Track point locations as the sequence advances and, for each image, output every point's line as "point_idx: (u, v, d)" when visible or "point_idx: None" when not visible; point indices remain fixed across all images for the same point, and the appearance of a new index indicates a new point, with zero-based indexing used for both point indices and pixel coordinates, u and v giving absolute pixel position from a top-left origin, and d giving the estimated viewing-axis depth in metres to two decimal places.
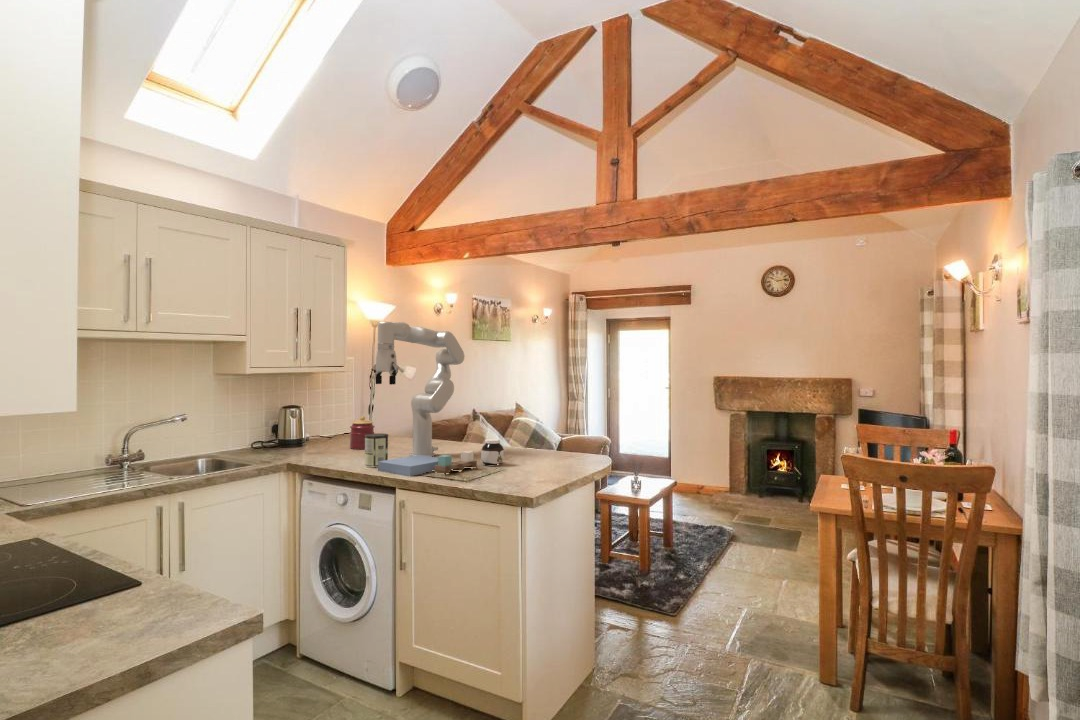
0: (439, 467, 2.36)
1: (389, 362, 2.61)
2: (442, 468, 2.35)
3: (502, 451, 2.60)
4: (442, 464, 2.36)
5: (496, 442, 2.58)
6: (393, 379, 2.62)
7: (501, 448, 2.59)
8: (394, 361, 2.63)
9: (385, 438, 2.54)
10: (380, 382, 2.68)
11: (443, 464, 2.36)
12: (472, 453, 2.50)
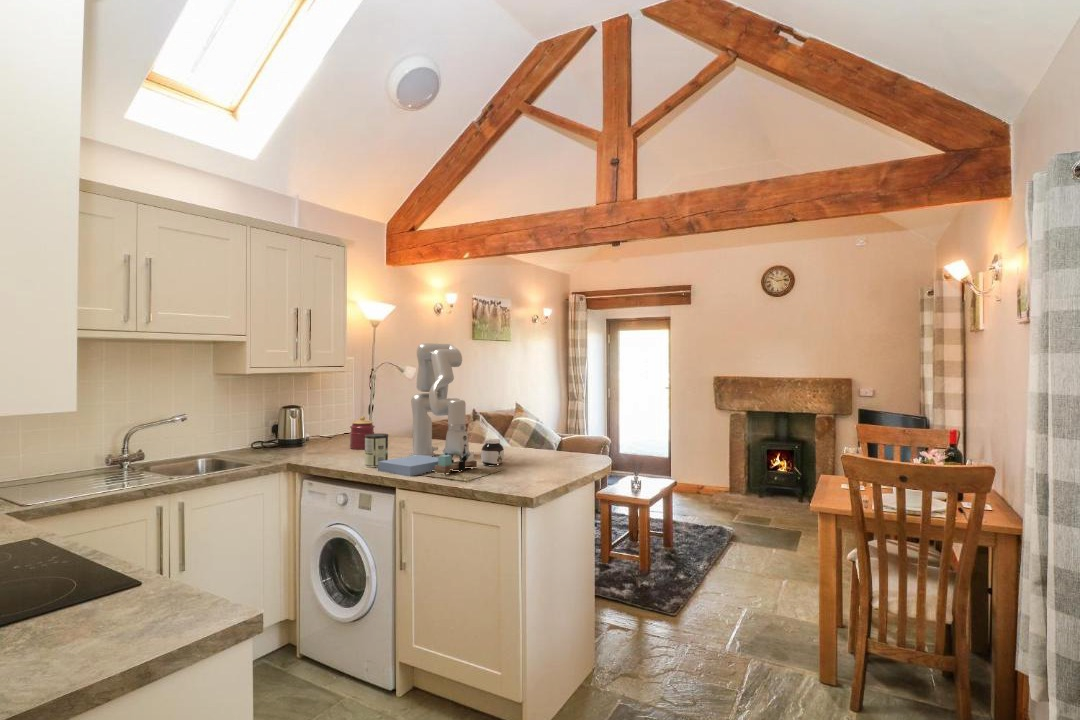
0: (439, 467, 2.36)
1: (461, 445, 2.40)
2: (442, 468, 2.35)
3: (502, 451, 2.60)
4: (442, 464, 2.36)
5: (496, 442, 2.58)
6: (463, 465, 2.41)
7: (501, 448, 2.59)
8: (466, 443, 2.42)
9: (385, 438, 2.54)
10: None
11: (443, 463, 2.36)
12: (472, 453, 2.50)
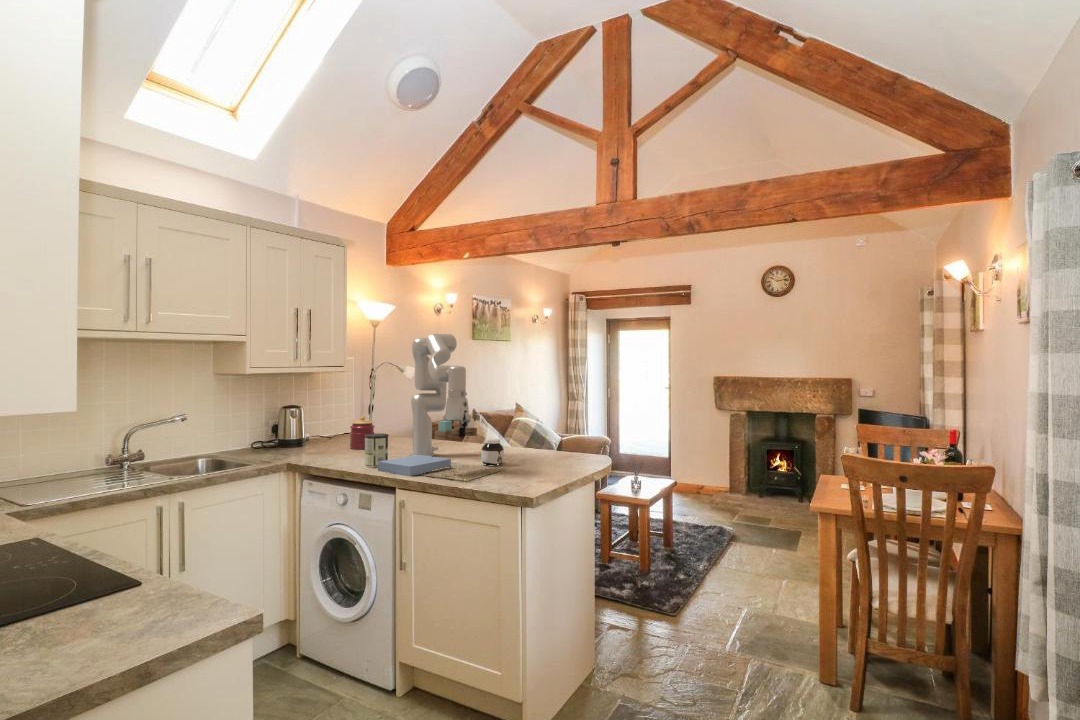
0: (439, 432, 2.36)
1: (462, 411, 2.40)
2: (442, 433, 2.35)
3: (502, 451, 2.60)
4: (442, 429, 2.37)
5: (496, 442, 2.58)
6: (463, 431, 2.42)
7: (501, 448, 2.59)
8: (466, 409, 2.42)
9: (385, 438, 2.54)
10: None
11: (444, 429, 2.36)
12: (472, 420, 2.50)
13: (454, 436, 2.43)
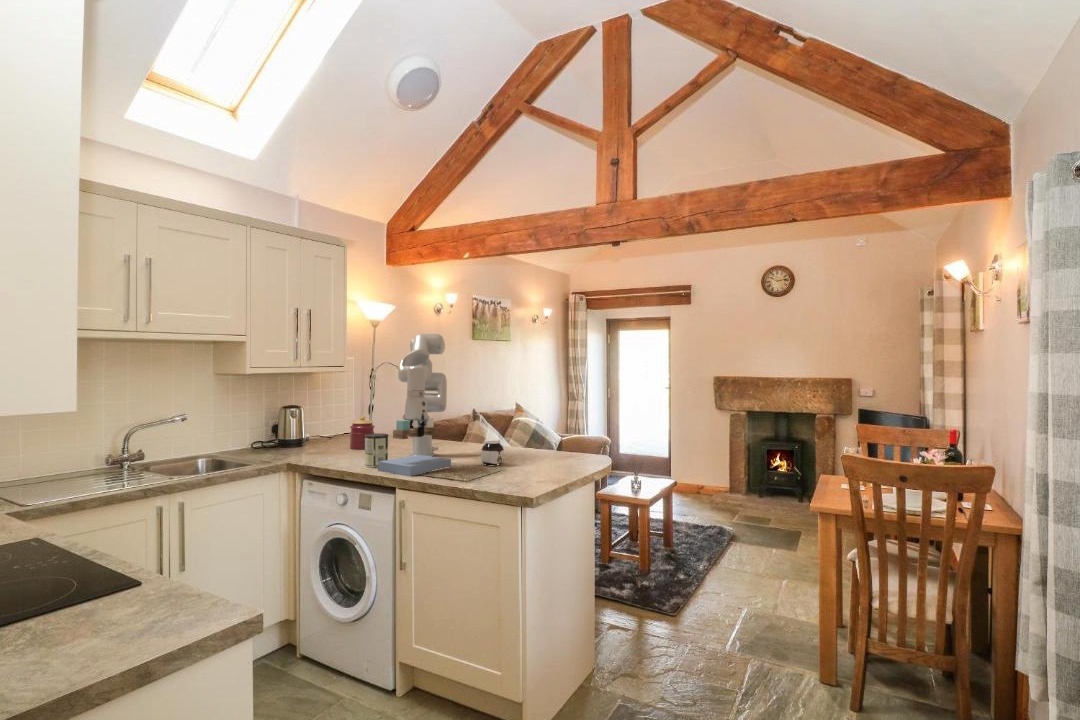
0: (397, 431, 2.39)
1: (420, 410, 2.43)
2: (400, 432, 2.38)
3: (502, 451, 2.60)
4: (400, 428, 2.39)
5: (496, 442, 2.58)
6: (422, 430, 2.45)
7: (501, 448, 2.59)
8: (425, 409, 2.45)
9: (385, 438, 2.54)
10: None
11: (401, 428, 2.39)
12: (432, 419, 2.53)
13: (413, 435, 2.46)
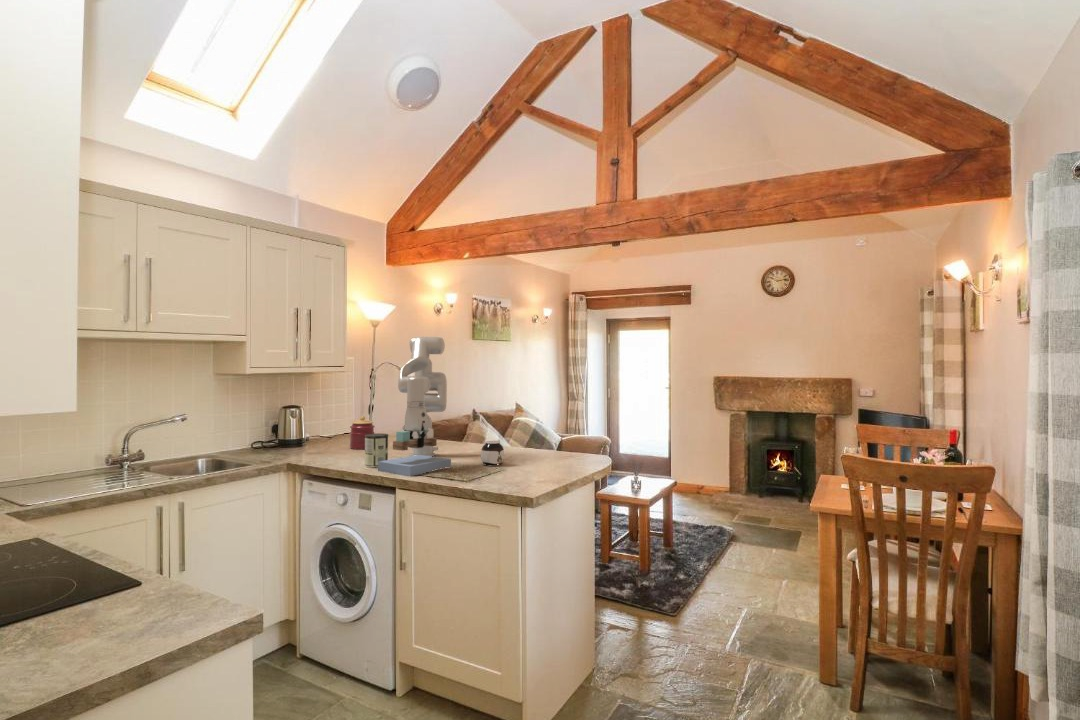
0: (397, 442, 2.39)
1: (420, 421, 2.43)
2: (400, 443, 2.38)
3: (502, 451, 2.60)
4: (400, 439, 2.39)
5: (496, 442, 2.58)
6: (421, 441, 2.44)
7: (501, 448, 2.59)
8: (425, 420, 2.45)
9: (385, 438, 2.54)
10: None
11: (401, 439, 2.39)
12: (432, 430, 2.53)
13: (413, 446, 2.46)
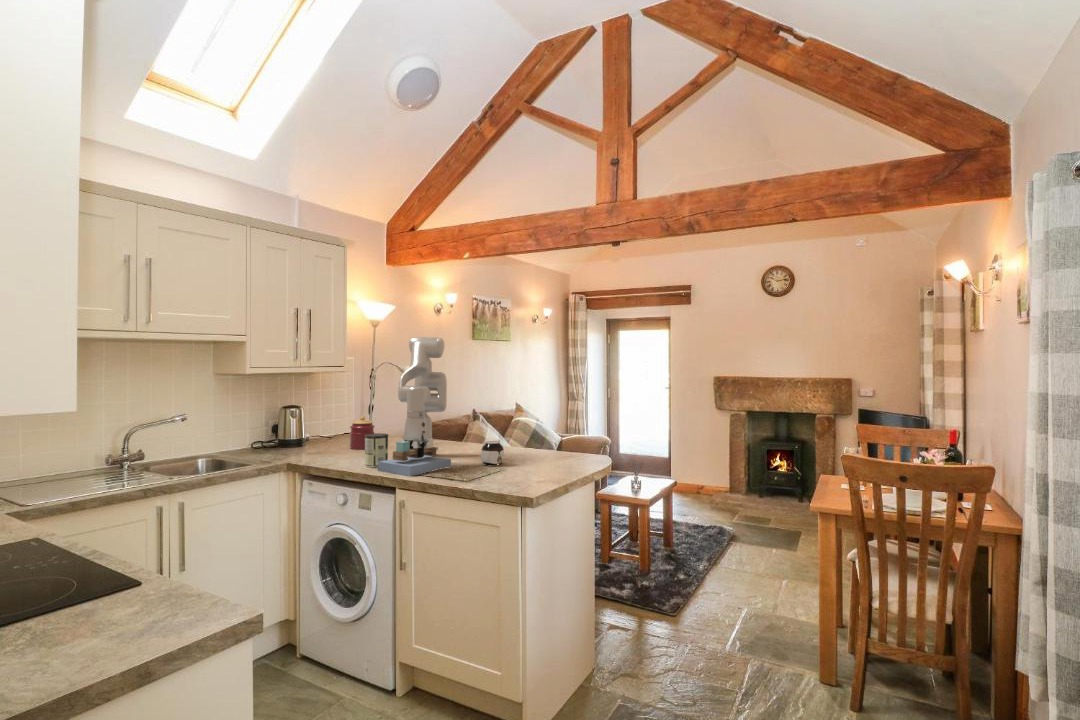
0: (397, 453, 2.39)
1: (420, 432, 2.43)
2: (400, 454, 2.38)
3: (502, 451, 2.60)
4: (400, 450, 2.39)
5: (496, 442, 2.58)
6: (421, 451, 2.45)
7: (501, 448, 2.59)
8: (425, 430, 2.45)
9: (385, 438, 2.54)
10: None
11: (401, 449, 2.39)
12: (432, 440, 2.53)
13: (413, 456, 2.46)
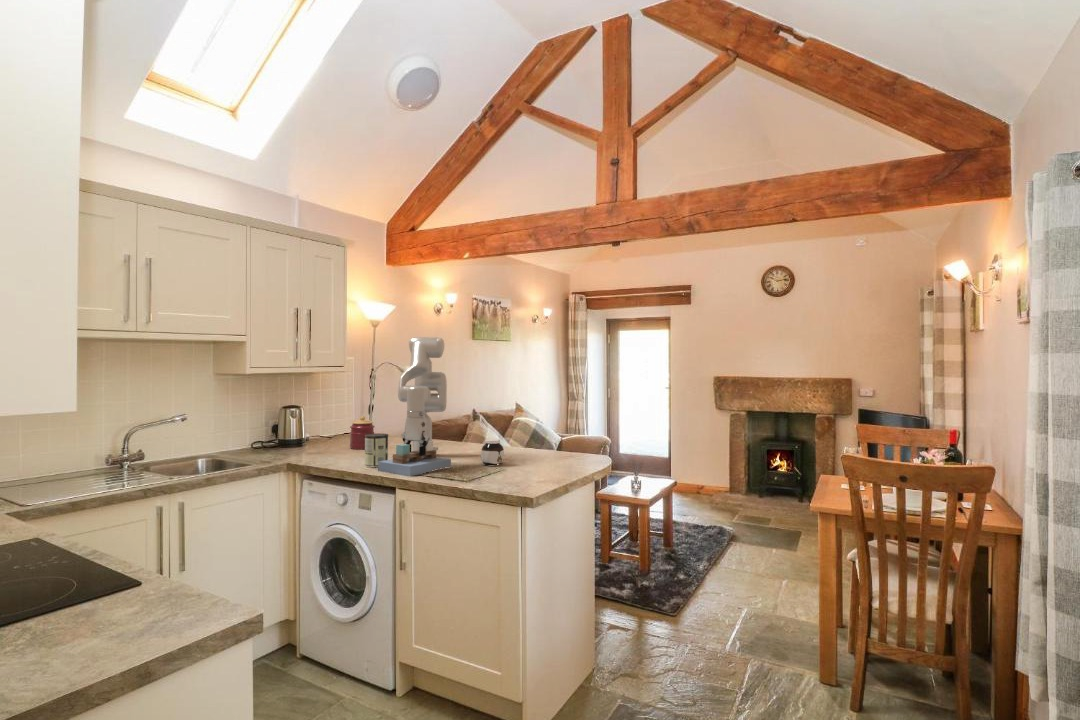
0: (397, 456, 2.39)
1: (420, 431, 2.43)
2: (399, 457, 2.38)
3: (502, 451, 2.60)
4: (400, 453, 2.39)
5: (496, 442, 2.58)
6: (423, 450, 2.44)
7: (501, 448, 2.59)
8: (425, 430, 2.45)
9: (385, 438, 2.54)
10: (410, 451, 2.50)
11: (401, 452, 2.39)
12: (432, 442, 2.53)
13: (412, 459, 2.46)
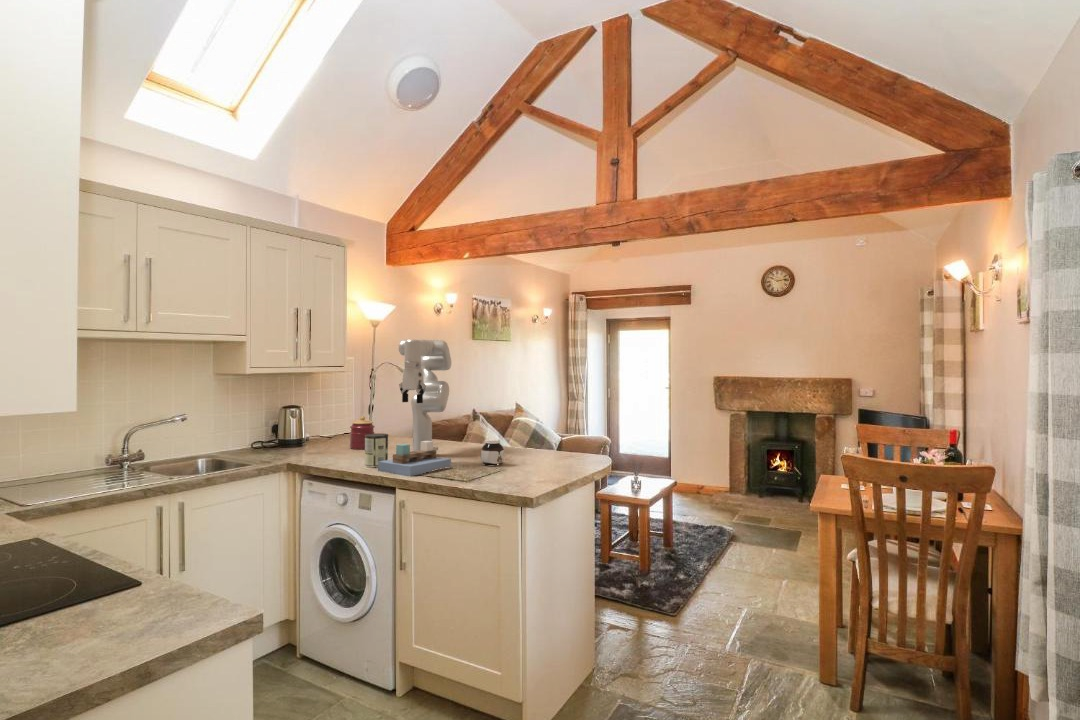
0: (397, 456, 2.39)
1: (416, 381, 2.59)
2: (399, 457, 2.38)
3: (502, 451, 2.60)
4: (400, 453, 2.39)
5: (496, 442, 2.58)
6: (420, 398, 2.59)
7: (501, 448, 2.59)
8: (421, 379, 2.61)
9: (385, 438, 2.54)
10: (407, 400, 2.66)
11: (401, 452, 2.39)
12: (432, 442, 2.53)
13: (412, 459, 2.46)
